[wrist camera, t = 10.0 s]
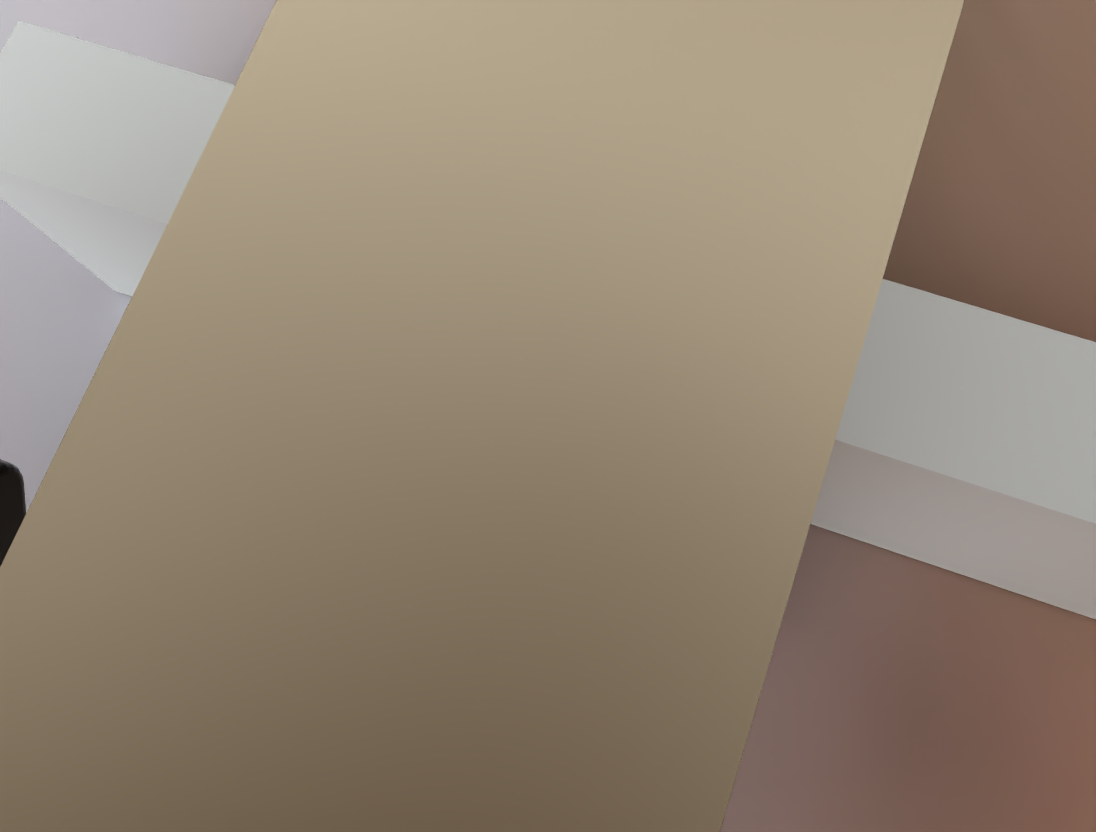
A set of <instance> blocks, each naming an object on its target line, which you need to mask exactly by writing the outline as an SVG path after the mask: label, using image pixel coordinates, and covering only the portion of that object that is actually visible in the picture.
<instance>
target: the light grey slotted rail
mask: <svg viewBox="0 0 1096 832" xmlns="http://www.w3.org/2000/svg"><path fill="white" fill-rule="evenodd" d="M234 87H235V85H233V84H230V83H226V82H223V81H220V80H216V79H213V78H210V77H206V76H203V75H200V74H196V73H193V72H190V71H186V70H183V69H180V68H176V67H173V66H170V65H166V64H163V63H160V62H156V61H153V60H149V59H146V58H143V57H139V56H136V55H133V54H129V53H126V52H123V51H119V50H116V49H113V48H109V47H106V46H103V45H99V44H96V43H93V42H89V41H86V40H83V39H79V38H76V37H73V36H69V35H66V34H62V33H59V32H56V31H52V30H49V29H46V28H42V27H39V26H36V25H32V24H29V23H26V22H22V21H18V22H17V24H16V26H15V28H14V30H13V31H12V33H11V35H10V37H9V39H8V40H7V42H6V44H5V46H4V48H3V49H2V51H1V53H0V198H1V199H3V200H4V201H5V202H6V203H8V204H9V205H10V206H11V207H12V208H14V209H15V210H16V211H17V212H19V213H20V214H21V215H22V216H23V217H25V218H26V219H27V220H28V221H30V222H31V223H32V224H33V225H35V226H36V227H37V228H38V229H39V230H41V231H42V232H43V233H44V234H46V235H47V236H48V237H49V238H50V239H52V240H53V241H54V242H55V243H57V244H58V245H59V246H60V247H61V248H63V249H64V250H65V251H66V252H68V253H69V254H70V255H71V256H72V257H74V258H75V259H76V260H77V261H79V262H80V263H81V264H82V265H83V266H85V267H86V268H87V269H88V270H90V271H91V272H92V273H93V274H94V275H96V276H97V277H98V278H99V279H101V280H102V281H103V282H104V283H105V284H107V285H108V286H109V287H110V288H112V289H113V290H114V291H117V292H120V293H123V294H126V295H129V296H133V294H134V292H135V290H136V288H137V286H138V284H139V282H140V280H141V278H142V275H143V273H144V271H145V269H146V267H147V265H148V263H149V261H150V259H151V257H152V255H153V253H154V251H155V249H156V247H157V245H158V243H159V241H160V239H161V237H162V234H163V232H164V230H165V228H166V226H167V224H168V222H169V220H170V218H171V216H172V214H173V212H174V210H175V208H176V206H177V204H178V202H179V200H180V198H181V196H182V193H183V191H184V189H185V187H186V185H187V183H188V181H189V179H190V177H191V175H192V173H193V171H194V169H195V167H196V165H197V163H198V161H199V159H200V157H201V154H202V152H203V150H204V148H205V146H206V144H207V142H208V140H209V138H210V136H211V134H212V132H213V130H214V128H215V126H216V124H217V122H218V120H219V118H220V116H221V113H222V111H223V109H224V107H225V105H226V103H227V101H228V99H229V97H230V95H231V93H232V91H233V89H234ZM811 524H812V525H815V526H818V527H821V528H824V529H827V530H830V531H833V532H836V533H839V534H842V535H845V536H848V537H851V538H854V539H857V540H860V541H863V542H866V543H869V544H872V545H875V546H878V547H881V548H884V549H887V550H890V551H893V552H896V553H899V554H902V555H905V556H908V557H911V558H914V559H917V560H920V561H922V562H925V563H928V564H931V565H934V566H937V567H940V568H943V569H946V570H949V571H952V572H955V573H958V574H961V575H964V576H967V577H970V578H973V579H976V580H979V581H982V582H985V583H988V584H991V585H994V586H997V587H1000V588H1003V589H1006V590H1009V591H1012V592H1015V593H1018V594H1021V595H1024V596H1027V597H1030V598H1033V599H1036V600H1039V601H1042V602H1045V603H1048V604H1051V605H1054V606H1057V607H1060V608H1063V609H1066V610H1069V611H1072V612H1075V613H1078V614H1081V615H1084V616H1087V617H1090V618H1093V619H1096V342H1093V341H1090V340H1086V339H1083V338H1080V337H1076V336H1073V335H1070V334H1066V333H1063V332H1060V331H1056V330H1053V329H1050V328H1046V327H1043V326H1040V325H1036V324H1033V323H1030V322H1026V321H1023V320H1019V319H1016V318H1013V317H1009V316H1006V315H1003V314H999V313H996V312H993V311H989V310H986V309H983V308H979V307H976V306H973V305H969V304H966V303H963V302H959V301H956V300H953V299H949V298H946V297H943V296H939V295H936V294H932V293H929V292H926V291H922V290H919V289H916V288H912V287H909V286H906V285H902V284H899V283H896V282H892V281H889V280H886V279H882V282H881V285H880V289H879V292H878V296H877V299H876V302H875V306H874V309H873V313H872V316H871V319H870V323H869V326H868V330H867V333H866V337H865V340H864V343H863V347H862V350H861V354H860V357H859V360H858V364H857V367H856V371H855V374H854V377H853V381H852V384H851V388H850V391H849V394H848V398H847V401H846V405H845V408H844V411H843V415H842V418H841V422H840V425H839V428H838V432H837V435H836V439H835V442H834V445H833V449H832V452H831V456H830V459H829V462H828V466H827V469H826V473H825V476H824V479H823V483H822V486H821V490H820V493H819V496H818V500H817V503H816V507H815V510H814V513H813V517H812V520H811Z"/></svg>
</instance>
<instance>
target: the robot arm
mask: <svg viewBox="0 0 1096 832" xmlns="http://www.w3.org/2000/svg"><path fill="white" fill-rule="evenodd" d="M25 515H26V505H25V492H24V481H23V476H22V474H21V473H20V471H19V469H18V468H17V467H16V466H14V465H13V464H11V463H8V462H6V461H3V460H0V567H1V565H2V563H3V560H4V558H5V556H6V554H7V552H8V550H9V548H10V546H11V544H12V542H13V540H14V538H15V536H16V534H17V532H18V530H19V528H20V526H21V524H22V521H23V519H24V517H25Z"/></svg>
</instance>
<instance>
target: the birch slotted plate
mask: <svg viewBox="0 0 1096 832" xmlns="http://www.w3.org/2000/svg"><path fill="white" fill-rule="evenodd" d="M963 3H964V0H277V1H276V3H275V5H274V7H273V9H272V11H271V13H270V15H269V17H268V19H267V21H266V23H265V25H264V27H263V29H262V31H261V34H260V36H259V38H258V40H257V42H256V44H255V46H254V48H253V50H252V52H251V54H250V56H249V58H248V60H247V62H246V64H245V66H244V68H243V70H242V72H241V75H240V77H239V79H238V81H237V83H236V85H235V87H234V89H233V91H232V93H231V95H230V97H229V99H228V101H227V103H226V105H225V107H224V109H223V111H222V113H221V116H220V118H219V120H218V122H217V124H216V126H215V128H214V130H213V132H212V134H211V136H210V138H209V140H208V142H207V144H206V146H205V148H204V150H203V152H202V154H201V157H200V159H199V161H198V163H197V165H196V167H195V169H194V171H193V173H192V175H191V177H190V179H189V181H188V183H187V185H186V187H185V189H184V191H183V193H182V196H181V198H180V200H179V202H178V204H177V206H176V208H175V210H174V212H173V214H172V216H171V218H170V220H169V222H168V224H167V226H166V228H165V230H164V232H163V234H162V237H161V239H160V241H159V243H158V245H157V247H156V249H155V251H154V253H153V255H152V257H151V259H150V261H149V263H148V265H147V267H146V269H145V271H144V273H143V275H142V278H141V280H140V282H139V284H138V286H137V288H136V290H135V292H134V294H133V296H132V298H131V300H130V302H129V304H128V306H127V308H126V310H125V312H124V314H123V316H122V319H121V321H120V323H119V325H118V327H117V329H116V331H115V333H114V335H113V337H112V339H111V341H110V343H109V345H108V347H107V349H106V351H105V353H104V355H103V357H102V360H101V362H100V364H99V366H98V368H97V370H96V372H95V374H94V376H93V378H92V380H91V382H90V384H89V386H88V388H87V390H86V392H85V394H84V396H83V398H82V401H81V403H80V405H79V407H78V409H77V411H76V413H75V415H74V417H73V419H72V421H71V423H70V425H69V427H68V429H67V431H66V433H65V435H64V437H63V439H62V442H61V444H60V446H59V448H58V450H57V452H56V454H55V456H54V458H53V460H52V462H51V464H50V466H49V468H48V470H47V472H46V474H45V476H44V478H43V480H42V483H41V485H40V487H39V489H38V491H37V493H36V495H35V497H34V499H33V501H32V503H31V505H30V507H29V509H28V511H27V513H26V515H25V517H24V519H23V521H22V524H21V526H20V528H19V530H18V532H17V534H16V536H15V538H14V540H13V542H12V544H11V546H10V548H9V550H8V552H7V554H6V556H5V558H4V560H3V563H2V565H1V567H0V832H720V830H721V827H722V823H723V820H724V816H725V813H726V810H727V806H728V803H729V799H730V796H731V793H732V789H733V786H734V782H735V779H736V776H737V772H738V769H739V765H740V762H741V759H742V755H743V752H744V748H745V745H746V742H747V738H748V735H749V731H750V728H751V725H752V721H753V718H754V714H755V711H756V708H757V704H758V701H759V697H760V694H761V690H762V687H763V684H764V680H765V677H766V673H767V670H768V667H769V663H770V660H771V656H772V653H773V650H774V646H775V643H776V639H777V636H778V633H779V629H780V626H781V622H782V619H783V616H784V612H785V609H786V605H787V602H788V599H789V595H790V592H791V588H792V585H793V582H794V578H795V575H796V571H797V568H798V565H799V561H800V558H801V554H802V551H803V548H804V544H805V541H806V537H807V534H808V531H809V527H810V524H811V520H812V517H813V513H814V510H815V507H816V503H817V500H818V496H819V493H820V490H821V486H822V483H823V479H824V476H825V473H826V469H827V466H828V462H829V459H830V456H831V452H832V449H833V445H834V442H835V439H836V435H837V432H838V428H839V425H840V422H841V418H842V415H843V411H844V408H845V405H846V401H847V398H848V394H849V391H850V388H851V384H852V381H853V377H854V374H855V371H856V367H857V364H858V360H859V357H860V354H861V350H862V347H863V343H864V340H865V337H866V333H867V330H868V326H869V323H870V319H871V316H872V313H873V309H874V306H875V302H876V299H877V296H878V292H879V289H880V285H881V282H882V279H883V275H884V272H885V268H886V265H887V262H888V258H889V255H890V251H891V248H892V245H893V241H894V238H895V234H896V231H897V228H898V224H899V221H900V217H901V214H902V211H903V207H904V204H905V200H906V197H907V194H908V190H909V187H910V183H911V180H912V177H913V173H914V170H915V166H916V163H917V160H918V156H919V153H920V149H921V146H922V142H923V139H924V136H925V132H926V129H927V125H928V122H929V119H930V115H931V112H932V108H933V105H934V102H935V98H936V95H937V91H938V88H939V85H940V81H941V78H942V74H943V71H944V68H945V64H946V61H947V57H948V54H949V51H950V47H951V44H952V40H953V37H954V34H955V30H956V27H957V23H958V20H959V17H960V13H961V10H962V6H963Z"/></svg>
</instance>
